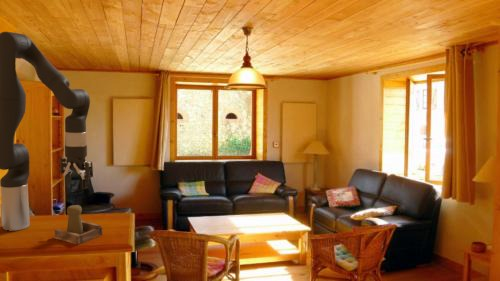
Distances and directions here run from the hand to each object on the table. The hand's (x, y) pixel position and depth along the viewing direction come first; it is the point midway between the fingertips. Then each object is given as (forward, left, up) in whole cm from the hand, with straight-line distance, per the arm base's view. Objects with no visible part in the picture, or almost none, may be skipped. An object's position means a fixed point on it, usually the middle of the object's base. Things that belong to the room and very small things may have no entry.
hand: (76, 186), depth 151 cm
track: (0, 0, -19) cm, 19 cm away
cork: (-2, 0, -19) cm, 19 cm away
